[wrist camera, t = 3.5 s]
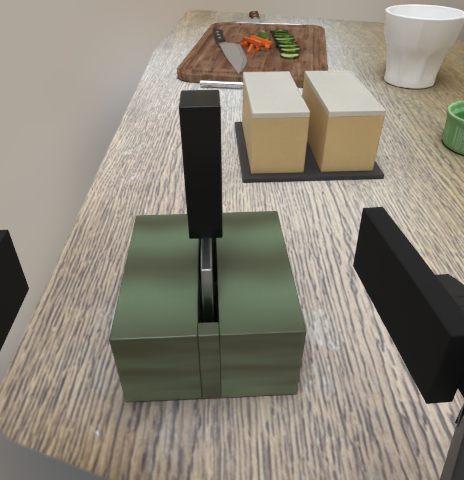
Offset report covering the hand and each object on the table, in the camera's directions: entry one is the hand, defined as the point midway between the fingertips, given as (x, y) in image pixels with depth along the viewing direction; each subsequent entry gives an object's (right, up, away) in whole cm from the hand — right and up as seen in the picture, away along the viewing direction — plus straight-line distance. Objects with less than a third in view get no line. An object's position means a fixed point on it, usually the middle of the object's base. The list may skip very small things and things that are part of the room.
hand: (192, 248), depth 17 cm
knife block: (0, -6, +16) cm, 17 cm away
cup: (+33, +28, +60) cm, 74 cm away
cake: (+10, +12, +39) cm, 42 cm away
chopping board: (+7, +39, +74) cm, 84 cm away
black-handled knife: (0, -6, +16) cm, 17 cm away
